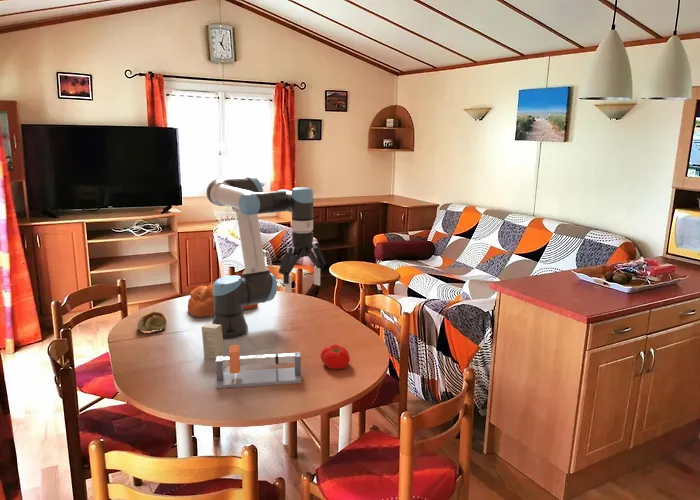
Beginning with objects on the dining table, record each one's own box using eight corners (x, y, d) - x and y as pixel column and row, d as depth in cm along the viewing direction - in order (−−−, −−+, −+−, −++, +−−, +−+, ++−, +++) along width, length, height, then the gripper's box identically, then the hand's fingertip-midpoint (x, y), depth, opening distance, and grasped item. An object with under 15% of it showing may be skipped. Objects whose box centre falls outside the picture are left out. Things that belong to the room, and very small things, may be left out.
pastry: (150, 336, 221) (149, 318, 219) (129, 330, 227) (128, 312, 225) (176, 325, 233) (175, 308, 231) (156, 320, 239) (155, 303, 237)
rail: (216, 381, 180) (215, 360, 178) (217, 376, 184) (216, 355, 182) (301, 376, 184) (300, 355, 183) (300, 371, 188) (299, 351, 186)
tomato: (328, 373, 189) (328, 356, 187) (317, 361, 198) (317, 344, 197) (353, 369, 192) (354, 352, 191) (342, 357, 202) (342, 341, 201)
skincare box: (224, 355, 203) (222, 324, 200) (217, 359, 199) (216, 328, 196) (209, 353, 205) (207, 322, 202) (202, 357, 201) (201, 326, 198)
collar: (230, 373, 179) (229, 352, 177) (231, 365, 185) (230, 345, 183) (239, 373, 179) (238, 351, 178) (239, 365, 185) (239, 344, 184)
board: (216, 388, 177) (216, 385, 177) (218, 374, 187) (218, 371, 187) (301, 382, 182) (301, 379, 181) (299, 369, 191) (299, 367, 191)
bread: (185, 310, 253) (183, 283, 250) (248, 299, 269) (248, 274, 267) (195, 320, 240) (193, 291, 237) (261, 308, 256) (260, 281, 254)
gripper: (281, 237, 182) (282, 297, 186) (335, 228, 199) (334, 283, 204) (267, 234, 187) (269, 292, 192) (321, 225, 204) (321, 279, 209)
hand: (303, 288), depth 198 cm, fingers open, 13 cm apart
